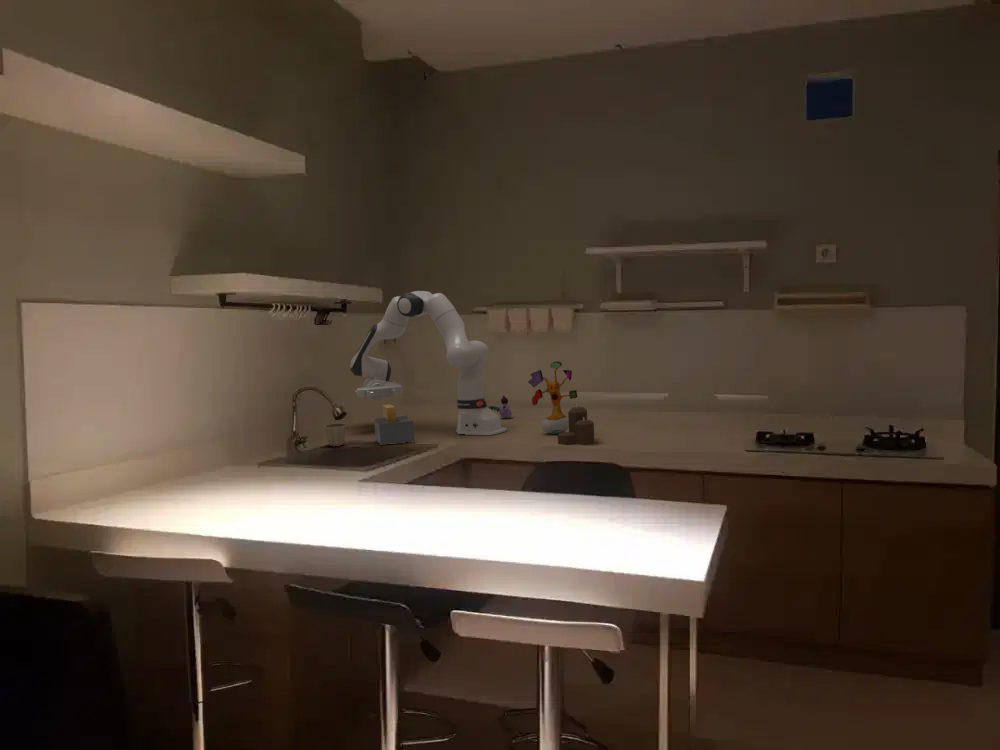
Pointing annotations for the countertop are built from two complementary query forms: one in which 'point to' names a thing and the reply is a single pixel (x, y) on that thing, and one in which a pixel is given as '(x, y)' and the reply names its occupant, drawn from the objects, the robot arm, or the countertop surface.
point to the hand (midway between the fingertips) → (382, 393)
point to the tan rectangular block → (389, 413)
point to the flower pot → (335, 433)
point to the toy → (502, 408)
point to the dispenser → (394, 430)
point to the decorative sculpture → (553, 400)
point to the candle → (578, 428)
